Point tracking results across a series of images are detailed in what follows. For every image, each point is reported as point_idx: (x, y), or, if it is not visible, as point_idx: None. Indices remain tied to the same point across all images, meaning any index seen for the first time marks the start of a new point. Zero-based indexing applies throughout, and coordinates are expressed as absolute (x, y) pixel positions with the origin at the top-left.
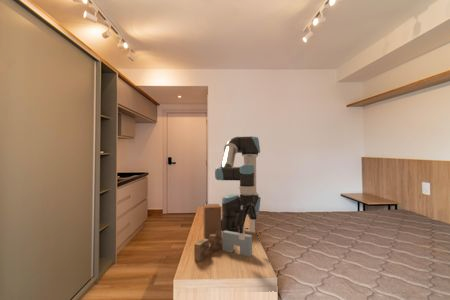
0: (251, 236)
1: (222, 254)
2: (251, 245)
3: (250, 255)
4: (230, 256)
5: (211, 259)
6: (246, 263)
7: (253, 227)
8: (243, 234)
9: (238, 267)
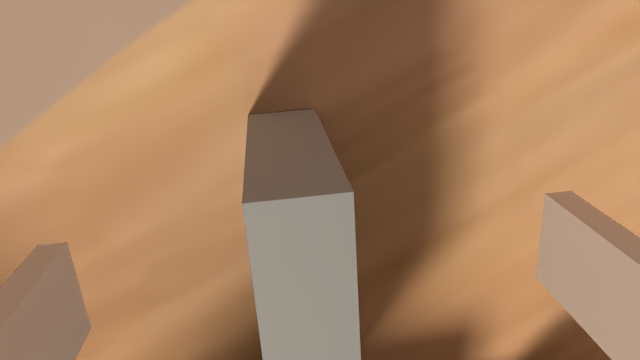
0: (267, 194)
1: (404, 341)
2: (268, 144)
3: (298, 111)
4: (405, 267)
5: (529, 352)
6: (468, 67)
7: (33, 313)
8: (636, 245)
9: (573, 94)
